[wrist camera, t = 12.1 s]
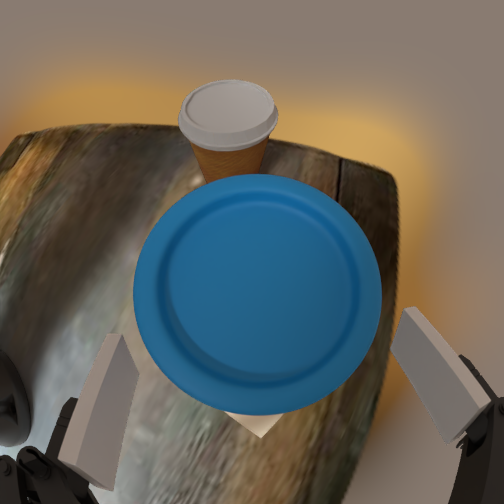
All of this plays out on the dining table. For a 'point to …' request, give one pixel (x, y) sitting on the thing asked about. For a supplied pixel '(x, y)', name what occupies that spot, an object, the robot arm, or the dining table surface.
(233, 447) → the dining table surface
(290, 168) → the dining table surface
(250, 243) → the beverage bottle
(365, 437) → the dining table surface
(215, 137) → the disposable coffee cup
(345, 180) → the dining table surface
